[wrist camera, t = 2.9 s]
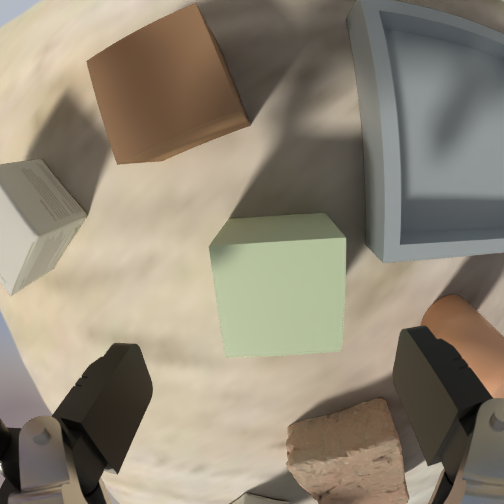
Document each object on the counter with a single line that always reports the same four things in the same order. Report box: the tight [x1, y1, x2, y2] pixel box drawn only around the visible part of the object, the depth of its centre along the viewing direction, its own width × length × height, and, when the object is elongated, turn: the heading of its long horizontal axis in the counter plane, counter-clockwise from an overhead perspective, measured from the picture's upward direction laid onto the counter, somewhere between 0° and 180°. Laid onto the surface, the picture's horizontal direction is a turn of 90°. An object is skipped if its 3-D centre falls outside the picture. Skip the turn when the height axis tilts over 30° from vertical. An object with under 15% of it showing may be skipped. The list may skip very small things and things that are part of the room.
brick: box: [286, 398, 409, 504], centre depth 20 cm, size 16×8×5 cm, turn 25°
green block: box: [209, 213, 346, 357], centre depth 14 cm, size 5×5×5 cm
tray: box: [346, 0, 504, 263], centre depth 12 cm, size 13×13×3 cm
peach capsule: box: [421, 294, 504, 399], centre depth 13 cm, size 4×4×7 cm
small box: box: [0, 159, 87, 296], centre depth 14 cm, size 6×6×5 cm
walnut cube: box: [87, 3, 251, 165], centre depth 12 cm, size 5×5×5 cm
